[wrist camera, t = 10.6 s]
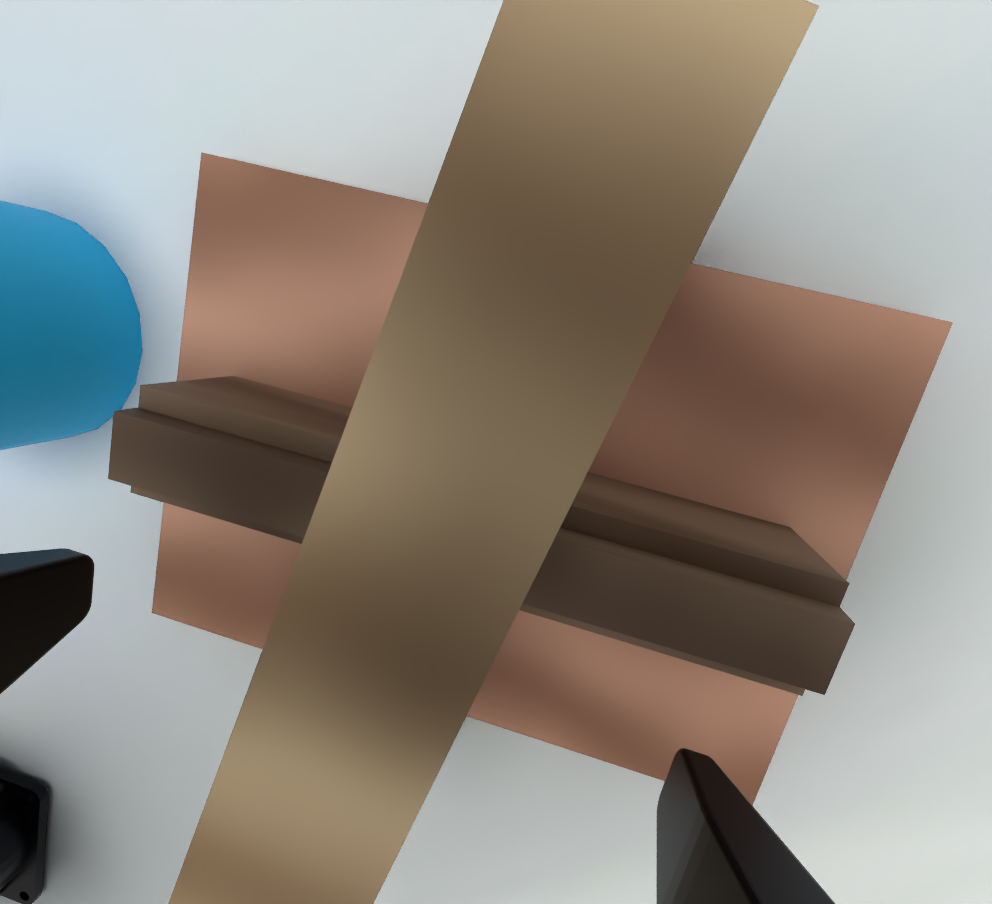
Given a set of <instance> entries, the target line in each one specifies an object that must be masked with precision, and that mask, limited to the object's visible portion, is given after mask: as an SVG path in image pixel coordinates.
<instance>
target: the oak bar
mask: <svg viewBox="0 0 992 904" xmlns="http://www.w3.org/2000/svg"><path fill="white" fill-rule="evenodd" d="M818 7H819V6H818V5H816V4H813V3H810V2H808V1H805V0H504V1H503V3H502V6H501V9H500V11H499V14H498V17H497V20H496V22H495V25H494V28H493V30H492V33H491V36H490V38H489V41H488V44H487V46H486V49H485V52H484V55H483V57H482V60H481V63H480V65H479V68H478V71H477V73H476V76H475V79H474V82H473V84H472V87H471V90H470V92H469V95H468V98H467V100H466V103H465V106H464V108H463V111H462V114H461V117H460V119H459V122H458V125H457V127H456V130H455V133H454V135H453V138H452V141H451V144H450V146H449V149H448V152H447V154H446V157H445V160H444V162H443V165H442V168H441V170H440V173H439V176H438V179H437V181H436V184H435V187H434V189H433V192H432V195H431V197H430V200H429V203H428V205H427V208H426V211H425V214H424V216H423V219H422V222H421V224H420V227H419V230H418V232H417V235H416V238H415V241H414V243H413V246H412V249H411V251H410V254H409V257H408V259H407V262H406V265H405V267H404V270H403V273H402V276H401V278H400V281H399V284H398V286H397V289H396V292H395V294H394V297H393V300H392V302H391V305H390V308H389V311H388V313H387V316H386V319H385V321H384V324H383V327H382V329H381V332H380V335H379V338H378V340H377V343H376V346H375V348H374V351H373V354H372V356H371V359H370V362H369V364H368V367H367V370H366V373H365V375H364V378H363V381H362V383H361V386H360V389H359V391H358V394H357V397H356V399H355V402H354V405H353V408H352V410H351V413H350V416H349V418H348V421H347V424H346V426H345V429H344V432H343V435H342V437H341V440H340V443H339V445H338V448H337V451H336V453H335V456H334V459H333V461H332V464H331V467H330V470H329V472H328V475H327V478H326V480H325V483H324V486H323V488H322V491H321V494H320V497H319V499H318V502H317V505H316V507H315V510H314V513H313V515H312V518H311V521H310V523H309V526H308V529H307V532H306V534H305V537H304V540H303V542H302V545H301V548H300V550H299V553H298V556H297V558H296V561H295V564H294V567H293V569H292V572H291V575H290V577H289V580H288V583H287V585H286V588H285V591H284V594H283V596H282V599H281V602H280V604H279V607H278V610H277V612H276V615H275V618H274V620H273V623H272V626H271V629H270V631H269V634H268V637H267V639H266V642H265V645H264V647H263V650H262V653H261V655H260V658H259V661H258V664H257V666H256V669H255V672H254V674H253V677H252V680H251V682H250V685H249V688H248V691H247V693H246V696H245V699H244V701H243V704H242V707H241V709H240V712H239V715H238V717H237V720H236V723H235V726H234V728H233V731H232V734H231V736H230V739H229V742H228V744H227V747H226V750H225V752H224V755H223V758H222V761H221V763H220V766H219V769H218V771H217V774H216V777H215V779H214V782H213V785H212V788H211V790H210V793H209V796H208V798H207V801H206V804H205V806H204V809H203V812H202V814H201V817H200V820H199V823H198V825H197V828H196V831H195V833H194V836H193V839H192V841H191V844H190V847H189V850H188V852H187V855H186V858H185V860H184V863H183V866H182V868H181V871H180V874H179V876H178V879H177V882H176V885H175V887H174V890H173V893H172V895H171V898H170V901H169V903H168V904H373V903H374V901H375V899H376V897H377V895H378V893H379V891H380V889H381V887H382V885H383V883H384V881H385V879H386V877H387V875H388V873H389V871H390V869H391V867H392V865H393V863H394V861H395V859H396V857H397V855H398V853H399V851H400V849H401V847H402V845H403V843H404V841H405V839H406V837H407V835H408V833H409V831H410V829H411V827H412V824H413V822H414V820H415V818H416V816H417V814H418V812H419V810H420V808H421V806H422V804H423V802H424V800H425V798H426V796H427V794H428V792H429V790H430V788H431V786H432V784H433V782H434V780H435V778H436V776H437V774H438V772H439V770H440V768H441V766H442V764H443V762H444V760H445V758H446V756H447V754H448V752H449V750H450V748H451V746H452V744H453V742H454V740H455V738H456V736H457V734H458V732H459V730H460V728H461V726H462V724H463V722H464V720H465V718H466V716H467V714H468V712H469V710H470V708H471V706H472V704H473V702H474V700H475V698H476V696H477V694H478V692H479V690H480V688H481V686H482V684H483V682H484V680H485V678H486V676H487V674H488V672H489V670H490V668H491V666H492V664H493V661H494V659H495V657H496V655H497V653H498V651H499V649H500V647H501V645H502V643H503V641H504V639H505V637H506V635H507V633H508V631H509V629H510V627H511V625H512V623H513V621H514V619H515V617H516V615H517V613H518V611H519V609H520V607H521V605H522V603H523V601H524V599H525V597H526V595H527V593H528V591H529V589H530V587H531V585H532V583H533V581H534V579H535V577H536V575H537V573H538V571H539V569H540V567H541V565H542V563H543V561H544V559H545V557H546V555H547V553H548V551H549V549H550V547H551V545H552V543H553V541H554V539H555V537H556V535H557V533H558V531H559V529H560V527H561V525H562V523H563V521H564V519H565V517H566V515H567V513H568V511H569V509H570V507H571V505H572V503H573V501H574V498H575V496H576V494H577V492H578V490H579V488H580V486H581V484H582V482H583V480H584V478H585V476H586V474H587V472H588V470H589V468H590V466H591V464H592V462H593V460H594V458H595V456H596V454H597V452H598V450H599V448H600V446H601V444H602V442H603V440H604V438H605V436H606V434H607V432H608V430H609V428H610V426H611V424H612V422H613V420H614V418H615V416H616V414H617V412H618V410H619V408H620V406H621V404H622V402H623V400H624V398H625V396H626V394H627V392H628V390H629V388H630V386H631V384H632V382H633V380H634V378H635V376H636V374H637V372H638V370H639V368H640V366H641V364H642V362H643V360H644V358H645V356H646V354H647V352H648V350H649V348H650V346H651V344H652V342H653V340H654V337H655V335H656V333H657V331H658V329H659V327H660V325H661V323H662V321H663V319H664V317H665V315H666V313H667V311H668V309H669V307H670V305H671V303H672V301H673V299H674V297H675V295H676V293H677V291H678V289H679V287H680V285H681V283H682V281H683V279H684V277H685V275H686V273H687V271H688V269H689V267H690V265H691V263H692V261H693V259H694V257H695V255H696V253H697V251H698V249H699V247H700V245H701V243H702V241H703V239H704V237H705V235H706V233H707V231H708V229H709V227H710V225H711V223H712V221H713V219H714V217H715V215H716V213H717V211H718V209H719V207H720V205H721V203H722V201H723V199H724V197H725V195H726V193H727V191H728V189H729V187H730V185H731V183H732V181H733V179H734V177H735V174H736V172H737V170H738V168H739V166H740V164H741V162H742V160H743V158H744V156H745V154H746V152H747V150H748V148H749V146H750V144H751V142H752V140H753V138H754V136H755V134H756V132H757V130H758V128H759V126H760V124H761V122H762V120H763V118H764V116H765V114H766V112H767V110H768V108H769V106H770V104H771V102H772V100H773V98H774V96H775V94H776V92H777V90H778V88H779V86H780V84H781V82H782V80H783V78H784V76H785V74H786V72H787V70H788V68H789V66H790V64H791V62H792V60H793V58H794V56H795V54H796V52H797V50H798V48H799V46H800V44H801V42H802V40H803V38H804V36H805V34H806V32H807V30H808V28H809V26H810V24H811V22H812V20H813V18H814V16H815V14H816V11H817V9H818Z"/></svg>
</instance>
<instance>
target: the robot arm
mask: <svg viewBox="0 0 992 904" xmlns="http://www.w3.org/2000/svg"><path fill="white" fill-rule="evenodd" d="M93 577H94V563H93V560H92V558H90V557H89V556H88V555H85V554H82V553H79V552H76V551H73V550H70V549H51V550H40V551H29V552H19V553H8V554H0V694H1V693H2V692H3V691H4V690H6V689H7V688H8V687H9V686H10V685H11V684H12V683H14V682H15V681H16V680H17V679H18V678H19V677H20V676H21V675H22V674H24V673H25V672H26V671H27V670H28V669H29V668H30V667H31V666H33V665H34V664H35V663H36V662H37V661H38V660H39V659H40V658H41V657H43V656H44V655H45V654H46V653H47V652H48V651H49V650H50V649H51V648H53V647H54V646H55V645H56V644H57V643H58V642H59V641H60V640H62V639H63V638H64V637H65V636H66V635H67V634H68V633H69V632H70V631H72V630H73V629H74V628H75V627H76V626H77V625H78V624H79V623H80V622H81V621H82V620H83V619H84V618H85V617H86V615H87V614H88V612H89V610H90V607H91V602H92V589H93ZM47 809H48V791H47V789H46V788H45V787H44V785H42V784H41V783H39V782H36V781H33V780H31V779H28V778H25V777H23V776H20V775H17V774H15V773H12V772H9V771H7V770H4V769H1V768H0V895H2V896H4V897H7V898H9V899H11V900H14V901H16V902H19V903H21V904H32V903H33V902H34V901H35V900H36V899H37V898H38V897H39V896H40V895H41V893H42V884H43V869H44V854H45V839H46V824H47ZM657 904H835V903H834V902H833V901H832V899H831V898H830V897H829V896H828V895H827V893H826V892H825V891H824V890H823V889H822V888H821V886H820V885H819V884H818V883H817V882H816V880H815V879H814V878H813V877H812V876H811V875H810V873H809V872H808V871H807V870H806V869H805V867H804V866H803V865H802V864H801V863H800V862H799V860H798V859H797V858H796V857H795V856H794V854H793V853H792V852H791V851H790V850H789V849H788V847H787V846H786V845H785V844H784V843H783V841H782V840H781V839H780V838H779V837H778V836H777V834H776V833H775V832H774V831H773V830H772V828H771V827H770V826H769V825H768V824H767V823H766V821H765V820H764V819H763V818H762V817H761V815H760V814H759V813H758V812H757V811H756V810H755V808H754V807H753V806H752V805H751V804H750V802H749V801H748V800H747V799H746V798H745V797H744V795H743V794H742V793H741V792H740V791H739V789H738V788H737V787H736V786H735V785H734V784H733V782H732V781H731V780H730V779H729V778H728V776H727V775H726V774H725V773H724V772H723V771H722V769H721V768H720V767H719V766H718V765H717V763H716V762H715V761H714V760H713V759H712V758H711V757H709V756H708V755H705V754H702V753H698V752H695V751H692V750H689V749H686V748H681V749H679V750H678V751H677V753H676V754H675V756H674V759H673V761H672V764H671V767H670V769H669V772H668V775H667V777H666V780H665V783H664V786H663V788H662V791H661V794H660V797H659V801H658V807H657Z"/></svg>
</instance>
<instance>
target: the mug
mask: <svg viewBox="0 0 992 904" xmlns="http://www.w3.org/2000/svg"><path fill="white" fill-rule="evenodd" d="M141 355H142V339H141V327H140V314H139V311H138V308H137V306H136V303H135V300H134V297H133V294H132V292H131V289H130V286H129V283H128V281H127V278H126V276H125V275H124V273H123V272H122V271H121V269H120V268H119V266H118V265H117V263H116V262H115V260H114V259H113V258H112V256H111V255H110V253H109V252H108V250H107V249H106V247H105V246H104V245H102V244H101V243H100V242H99V241H97V240H96V239H95V238H94V237H93V236H91V235H90V234H89V233H88V232H87V231H85V230H84V229H83V228H82V227H80V226H79V225H78V224H77V223H74V222H72V221H69V220H67V219H64V218H62V217H59V216H56V215H54V214H51V213H49V212H46V211H43V210H38V209H34V208H30V207H25V206H21V205H17V204H12V203H8V202H4V201H0V450H3V449H8V448H14V447H19V446H24V445H29V444H35V443H40V442H45V441H51V440H56V439H61V438H66V437H71V436H74V435H78V434H81V433H84V432H88V431H91V430H95V429H98V428H99V427H100V426H101V425H103V424H104V423H105V422H106V421H107V420H109V419H110V418H111V417H112V416H113V415H114V411H119V410H120V409H121V408H122V406H123V404H124V403H125V401H126V399H127V397H128V396H129V394H130V392H131V391H132V389H133V387H134V385H135V384H136V379H137V374H138V369H139V365H140V360H141Z"/></svg>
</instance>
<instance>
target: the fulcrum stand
mask: <svg viewBox="0 0 992 904" xmlns="http://www.w3.org/2000/svg"><path fill="white" fill-rule="evenodd" d="M427 205H428V204H427V203H422V202H418V201H414V200H409V199H405V198H400V197H396V196H391V195H387V194H383V193H378V192H374V191H369V190H365V189H361V188H356V187H352V186H347V185H343V184H338V183H334V182H330V181H325V180H321V179H316V178H312V177H308V176H303V175H299V174H294V173H290V172H285V171H281V170H277V169H272V168H268V167H263V166H259V165H254V164H250V163H246V162H241V161H237V160H232V159H228V158H224V157H219V156H215V155H210V154H206V153H201V162H200V171H199V181H198V190H197V199H196V208H195V218H194V227H193V236H192V245H191V255H190V264H189V273H188V282H187V292H186V301H185V310H184V320H183V329H182V338H181V347H180V357H179V366H178V375H177V382H168V383H158V384H149V385H140V396H139V407H138V408H132V409H125V410H119V411H114V415H113V427H112V439H111V451H110V463H109V475H108V479H111V480H114V481H117V482H121V483H124V484H127V485H131V493H135V494H138V495H141V496H144V497H148V498H151V499H154V500H158V501H161V502H164V505H163V514H162V524H161V533H160V542H159V551H158V561H157V570H156V579H155V588H154V598H153V607H152V613H154V614H157V615H160V616H163V617H166V618H169V619H172V620H175V621H179V622H182V623H185V624H188V625H191V626H194V627H197V628H200V629H203V630H206V631H209V632H212V633H215V634H218V635H221V636H224V637H227V638H230V639H233V640H236V641H240V642H243V643H246V644H249V645H252V646H255V647H258V648H261V649H263V647H264V645H265V642H266V639H267V637H268V634H269V631H270V629H271V626H272V623H273V620H274V618H275V615H276V612H277V610H278V607H279V604H280V602H281V599H282V596H283V594H284V591H285V588H286V585H287V583H288V580H289V577H290V575H291V572H292V569H293V567H294V564H295V561H296V558H297V556H298V553H299V550H300V548H301V545H302V542H303V540H304V537H305V534H306V532H307V529H308V526H309V523H310V521H311V518H312V515H313V513H314V510H315V507H316V505H317V502H318V499H319V497H320V494H321V491H322V488H323V486H324V483H325V480H326V478H327V475H328V472H329V470H330V467H331V464H332V461H333V459H334V456H335V453H336V451H337V448H338V445H339V443H340V440H341V437H342V435H343V432H344V429H345V426H346V424H347V421H348V418H349V416H350V413H351V410H352V408H353V405H354V402H355V399H356V397H357V394H358V391H359V389H360V386H361V383H362V381H363V378H364V375H365V373H366V370H367V367H368V364H369V362H370V359H371V356H372V354H373V351H374V348H375V346H376V343H377V340H378V338H379V335H380V332H381V329H382V327H383V324H384V321H385V319H386V316H387V313H388V311H389V308H390V305H391V302H392V300H393V297H394V294H395V292H396V289H397V286H398V284H399V281H400V278H401V276H402V273H403V270H404V267H405V265H406V262H407V259H408V257H409V254H410V251H411V249H412V246H413V243H414V241H415V238H416V235H417V232H418V230H419V227H420V224H421V222H422V219H423V216H424V214H425V211H426V208H427ZM952 323H953V322H948V321H944V320H939V319H935V318H930V317H926V316H922V315H917V314H913V313H908V312H904V311H900V310H895V309H891V308H886V307H882V306H877V305H873V304H869V303H864V302H860V301H855V300H851V299H847V298H842V297H838V296H833V295H829V294H824V293H820V292H816V291H811V290H807V289H802V288H798V287H794V286H789V285H785V284H780V283H776V282H771V281H767V280H763V279H758V278H754V277H749V276H745V275H740V274H736V273H732V272H727V271H723V270H718V269H714V268H710V267H705V266H701V265H696V264H692V263H691V265H690V267H689V269H688V271H687V273H686V275H685V277H684V279H683V281H682V283H681V285H680V287H679V289H678V291H677V293H676V295H675V297H674V299H673V301H672V303H671V305H670V307H669V309H668V311H667V313H666V315H665V317H664V319H663V321H662V323H661V325H660V327H659V329H658V331H657V333H656V335H655V337H654V340H653V342H652V344H651V346H650V348H649V350H648V352H647V354H646V356H645V358H644V360H643V362H642V364H641V366H640V368H639V370H638V372H637V374H636V376H635V378H634V380H633V382H632V384H631V386H630V388H629V390H628V392H627V394H626V396H625V398H624V400H623V402H622V404H621V406H620V408H619V410H618V412H617V414H616V416H615V418H614V420H613V422H612V424H611V426H610V428H609V430H608V432H607V434H606V436H605V438H604V440H603V442H602V444H601V446H600V448H599V450H598V452H597V454H596V456H595V458H594V460H593V462H592V464H591V466H590V468H589V470H588V472H587V474H586V476H585V478H584V480H583V482H582V484H581V486H580V488H579V490H578V492H577V494H576V496H575V498H574V501H573V503H572V505H571V507H570V509H569V511H568V513H567V515H566V517H565V519H564V521H563V523H562V525H561V527H560V529H559V531H558V533H557V535H556V537H555V539H554V541H553V543H552V545H551V547H550V549H549V551H548V553H547V555H546V557H545V559H544V561H543V563H542V565H541V567H540V569H539V571H538V573H537V575H536V577H535V579H534V581H533V583H532V585H531V587H530V589H529V591H528V593H527V595H526V597H525V599H524V601H523V603H522V605H521V607H520V609H519V611H518V613H517V615H516V617H515V619H514V621H513V623H512V625H511V627H510V629H509V631H508V633H507V635H506V637H505V639H504V641H503V643H502V645H501V647H500V649H499V651H498V653H497V655H496V657H495V659H494V661H493V664H492V666H491V668H490V670H489V672H488V674H487V676H486V678H485V680H484V682H483V684H482V686H481V688H480V690H479V692H478V694H477V696H476V698H475V700H474V702H473V704H472V706H471V708H470V710H469V712H468V714H467V716H468V717H471V718H474V719H477V720H481V721H484V722H487V723H490V724H493V725H496V726H499V727H502V728H505V729H508V730H511V731H514V732H517V733H520V734H523V735H526V736H529V737H532V738H535V739H538V740H542V741H545V742H548V743H551V744H554V745H557V746H560V747H563V748H566V749H569V750H572V751H575V752H578V753H581V754H584V755H587V756H590V757H593V758H596V759H599V760H603V761H606V762H609V763H612V764H615V765H618V766H621V767H624V768H627V769H630V770H633V771H636V772H639V773H642V774H645V775H648V776H651V777H654V778H657V779H660V780H664V781H665V780H666V777H667V775H668V772H669V769H670V767H671V764H672V761H673V759H674V756H675V754H676V753H677V751H678V750H679V749H681V748H686V749H689V750H692V751H695V752H698V753H702V754H705V755H708V756H709V757H711V758H712V759H713V760H714V761H715V762H716V763H717V765H718V766H719V767H720V768H721V769H722V771H723V772H724V773H725V774H726V775H727V776H728V778H729V779H730V780H731V781H732V782H733V784H734V785H735V786H736V787H737V788H738V789H739V791H740V792H741V793H742V794H743V795H744V797H745V798H746V799H747V800H748V801H749V802H750V804H751V805H753V803H754V800H755V798H756V795H757V793H758V790H759V788H760V786H761V783H762V781H763V778H764V776H765V774H766V771H767V769H768V766H769V764H770V762H771V759H772V757H773V754H774V752H775V750H776V747H777V745H778V742H779V740H780V737H781V735H782V733H783V730H784V728H785V725H786V723H787V721H788V718H789V716H790V713H791V711H792V709H793V706H794V704H795V701H796V699H797V697H798V695H801V696H802V695H803V693H804V691H805V689H807V690H810V691H813V692H817V693H820V694H823V695H825V693H826V691H827V688H828V686H829V684H830V681H831V679H832V677H833V674H834V672H835V669H836V667H837V665H838V662H839V660H840V658H841V655H842V653H843V651H844V648H845V646H846V644H847V641H848V639H849V637H850V634H851V632H852V630H853V627H854V625H855V623H854V622H853V621H852V620H851V619H850V618H849V617H848V616H847V615H846V614H845V612H844V611H843V610H842V609H841V608H840V604H841V602H842V600H843V597H844V595H845V592H846V590H847V588H848V585H849V583H848V582H847V581H846V579H847V576H848V574H849V571H850V569H851V566H852V564H853V562H854V559H855V557H856V554H857V552H858V550H859V547H860V545H861V542H862V540H863V538H864V535H865V533H866V530H867V528H868V526H869V523H870V521H871V518H872V516H873V514H874V511H875V509H876V506H877V504H878V501H879V499H880V497H881V494H882V492H883V489H884V487H885V485H886V482H887V480H888V477H889V475H890V473H891V470H892V468H893V465H894V463H895V461H896V458H897V456H898V453H899V451H900V448H901V446H902V444H903V441H904V439H905V436H906V434H907V432H908V429H909V427H910V424H911V422H912V420H913V417H914V415H915V412H916V410H917V408H918V405H919V403H920V400H921V398H922V395H923V393H924V391H925V388H926V386H927V383H928V381H929V379H930V376H931V374H932V371H933V369H934V367H935V364H936V362H937V359H938V357H939V355H940V352H941V350H942V347H943V345H944V343H945V340H946V338H947V335H948V333H949V330H950V328H951V326H952Z"/></svg>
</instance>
